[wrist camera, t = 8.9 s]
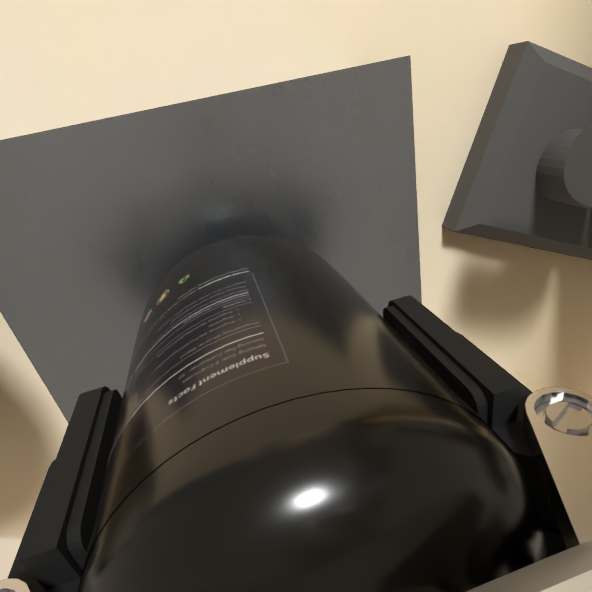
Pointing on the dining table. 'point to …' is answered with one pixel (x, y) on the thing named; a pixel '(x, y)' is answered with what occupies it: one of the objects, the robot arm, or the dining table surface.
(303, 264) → the supplement bottle
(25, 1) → the dining table surface
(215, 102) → the stand
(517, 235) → the faucet
